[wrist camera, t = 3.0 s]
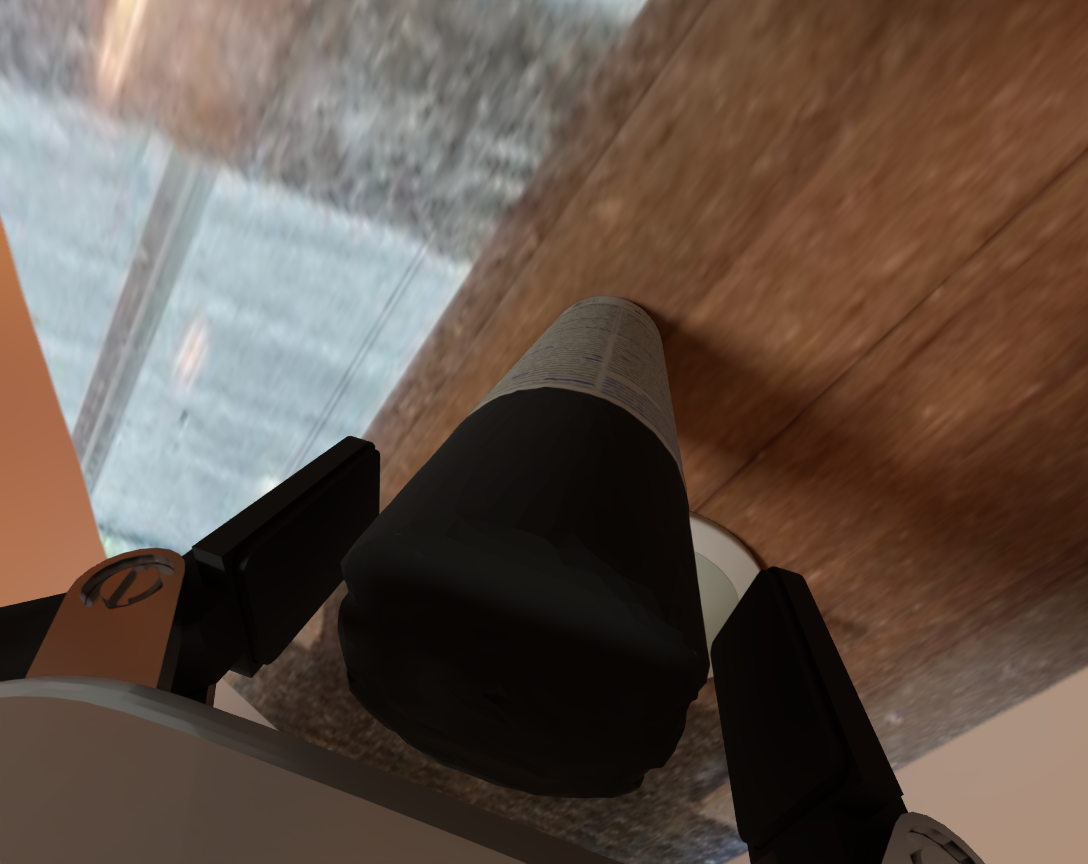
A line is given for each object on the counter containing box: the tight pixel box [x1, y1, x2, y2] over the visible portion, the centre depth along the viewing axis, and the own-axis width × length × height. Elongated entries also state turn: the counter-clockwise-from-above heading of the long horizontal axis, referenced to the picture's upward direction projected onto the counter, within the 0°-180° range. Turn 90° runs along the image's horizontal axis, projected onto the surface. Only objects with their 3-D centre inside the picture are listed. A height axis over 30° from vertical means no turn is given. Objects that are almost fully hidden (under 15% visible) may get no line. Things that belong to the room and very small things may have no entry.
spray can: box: [338, 296, 710, 798], centre depth 15 cm, size 7×7×20 cm
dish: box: [689, 511, 761, 678], centre depth 31 cm, size 18×18×1 cm
